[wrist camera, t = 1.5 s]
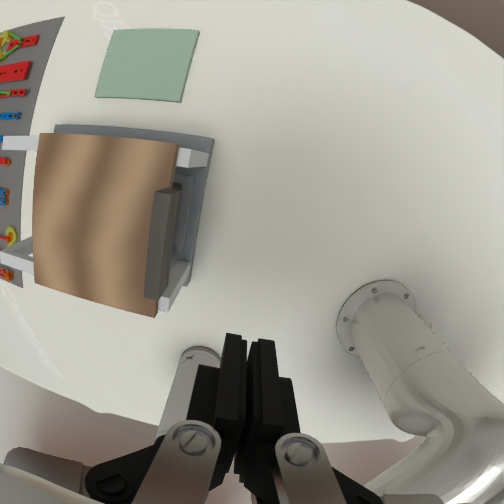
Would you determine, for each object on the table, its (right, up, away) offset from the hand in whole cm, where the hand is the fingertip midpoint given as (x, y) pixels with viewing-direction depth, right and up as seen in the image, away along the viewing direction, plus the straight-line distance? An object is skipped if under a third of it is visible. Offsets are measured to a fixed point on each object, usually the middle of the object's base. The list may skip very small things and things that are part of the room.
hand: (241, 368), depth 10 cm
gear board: (-43, +21, +22) cm, 53 cm away
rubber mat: (-13, +28, +20) cm, 37 cm away
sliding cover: (-13, +7, +13) cm, 20 cm away
